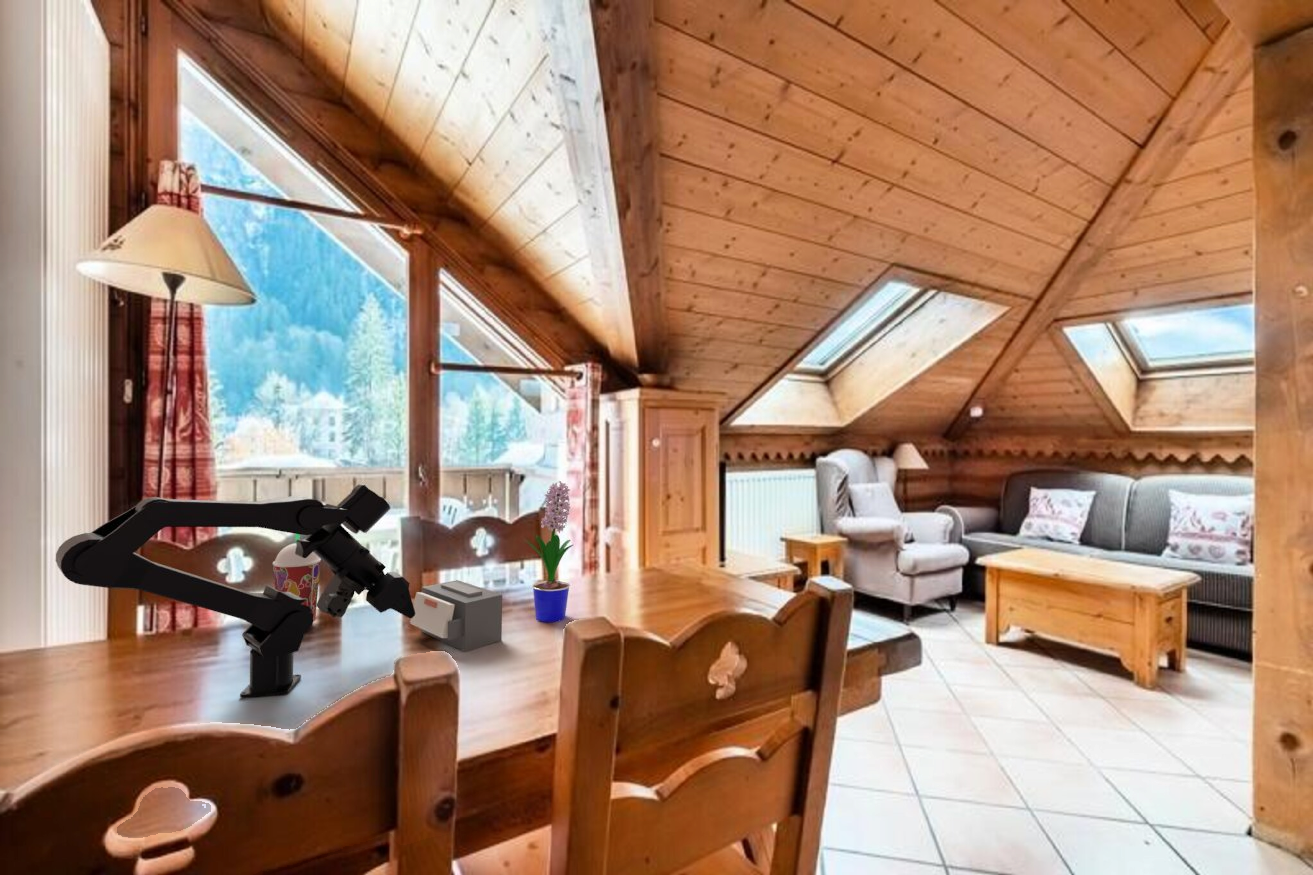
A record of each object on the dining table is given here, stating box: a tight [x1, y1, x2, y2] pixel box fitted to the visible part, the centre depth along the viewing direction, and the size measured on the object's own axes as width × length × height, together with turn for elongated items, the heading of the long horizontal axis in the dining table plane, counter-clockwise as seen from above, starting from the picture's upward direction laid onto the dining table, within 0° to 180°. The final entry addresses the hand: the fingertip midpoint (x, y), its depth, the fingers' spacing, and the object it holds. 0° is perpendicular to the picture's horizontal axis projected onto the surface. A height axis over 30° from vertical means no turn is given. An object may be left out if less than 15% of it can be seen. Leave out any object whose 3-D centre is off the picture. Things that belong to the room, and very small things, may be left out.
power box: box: [420, 579, 503, 652], centre depth 118 cm, size 10×16×10 cm, turn 50°
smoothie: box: [272, 534, 322, 628], centre depth 121 cm, size 8×8×20 cm
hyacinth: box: [524, 480, 574, 623], centre depth 131 cm, size 9×10×30 cm
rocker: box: [409, 591, 455, 638], centre depth 114 cm, size 2×12×6 cm, turn 50°
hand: (402, 608), depth 109 cm, fingers open, 9 cm apart
